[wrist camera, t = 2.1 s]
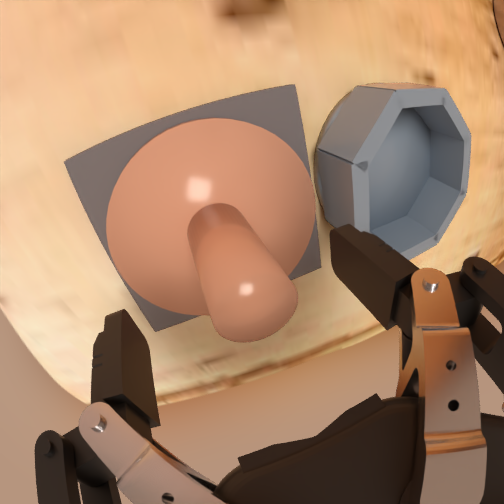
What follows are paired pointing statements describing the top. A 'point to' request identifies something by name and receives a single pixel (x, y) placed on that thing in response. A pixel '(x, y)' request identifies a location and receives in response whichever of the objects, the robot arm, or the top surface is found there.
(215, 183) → the lid
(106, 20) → the top surface
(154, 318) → the mat
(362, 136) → the bowl
